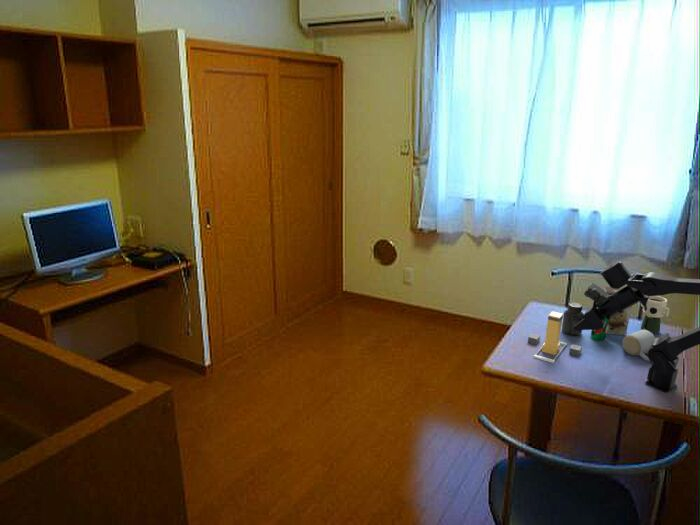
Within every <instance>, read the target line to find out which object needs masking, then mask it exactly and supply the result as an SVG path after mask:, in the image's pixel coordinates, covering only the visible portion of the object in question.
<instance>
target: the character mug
mask: <svg viewBox="0 0 700 525" xmlns="http://www.w3.org/2000/svg"><path fill="white" fill-rule="evenodd" d="M667 304H668V299H667V298H665V297H662V296H661V295H660V296H650V297H649V299H648V303H647V305H646V307H644V306H643V305H642V303H641V302H640V306H641V307H642V312H643V314H644V317H643V320H642V322H641V326H640V330H647V331H649V332H651V333H652V334H657V333H660V332H661V318H663V317H664V316H665V317H668V316H669V314H670V308H669V307H667Z"/></svg>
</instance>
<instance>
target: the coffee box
mask: <svg viewBox="0 0 700 525" xmlns="http://www.w3.org/2000/svg"><path fill="white" fill-rule="evenodd" d="M622 288H623V287H621V288H619V289H614V288H611V287H610V286H603V288H602V289H603V290H604V291H605V292H607V293H608V294H609V293H611V292H614V293H615V292H617V291H619V290H620V289H622ZM632 308H633V305H632V306H630V307H628V308H627V309H625V310H624V311H623V312H622V313H617V314H615V315H613V316H612V317H611V319H610V320H609V325H608V331H607V335H617V336H627V332H628V327H629V322H630V318H631V312H632Z"/></svg>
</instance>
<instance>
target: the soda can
mask: <svg viewBox="0 0 700 525" xmlns="http://www.w3.org/2000/svg"><path fill="white" fill-rule="evenodd" d="M604 318H605V320H606V324H605V326H604V327H603V328H602V329H600V330H599V331H597V330H590V331H591V332H590V338H591V339H592V340H595V341H597V342H604V341H607V335H608V334H607V331H608V325H609V320H610V319H609V320H608V319H607V318H606V317H604Z"/></svg>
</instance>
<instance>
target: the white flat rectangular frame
mask: <svg viewBox="0 0 700 525" xmlns="http://www.w3.org/2000/svg"><path fill="white" fill-rule="evenodd" d="M540 340H541V335H539V334H536V333H530V335H529V336H528V338H527V343H529V344H533V345H538V343H540ZM559 343H560V346H561V345H562V347H561V348H560V349H559V351H558V353H557V354H556V355H554V358H553V359H551V358H549V357H545V356H541V355H539V353H541V352H542V348H543V344H542V345H541V347H539V348H538V350H536V352H535V354H533V358H534V359H537V360H541V361H545V362H549V363H551V364H554V363H555V362H557V360H558V358H559V356H561V354H562V353H563V351H564V350H565V348H566V347H567V345H568V343H567V342H565V341H560V340H559ZM582 349H583V346H581V345H577V344H571V346H570V347H569V353H568V354H569V355H572V356H577V357H579V356H580V354H581V353H582Z"/></svg>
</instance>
